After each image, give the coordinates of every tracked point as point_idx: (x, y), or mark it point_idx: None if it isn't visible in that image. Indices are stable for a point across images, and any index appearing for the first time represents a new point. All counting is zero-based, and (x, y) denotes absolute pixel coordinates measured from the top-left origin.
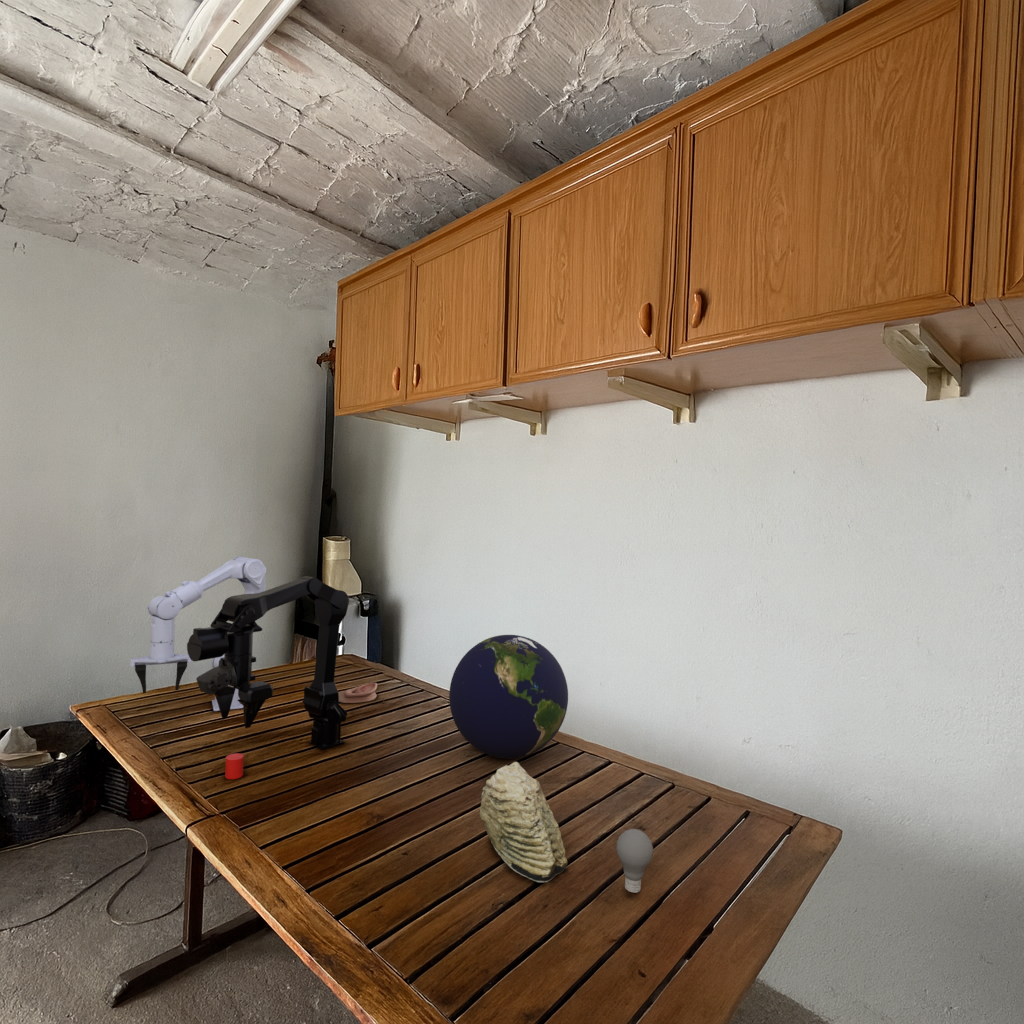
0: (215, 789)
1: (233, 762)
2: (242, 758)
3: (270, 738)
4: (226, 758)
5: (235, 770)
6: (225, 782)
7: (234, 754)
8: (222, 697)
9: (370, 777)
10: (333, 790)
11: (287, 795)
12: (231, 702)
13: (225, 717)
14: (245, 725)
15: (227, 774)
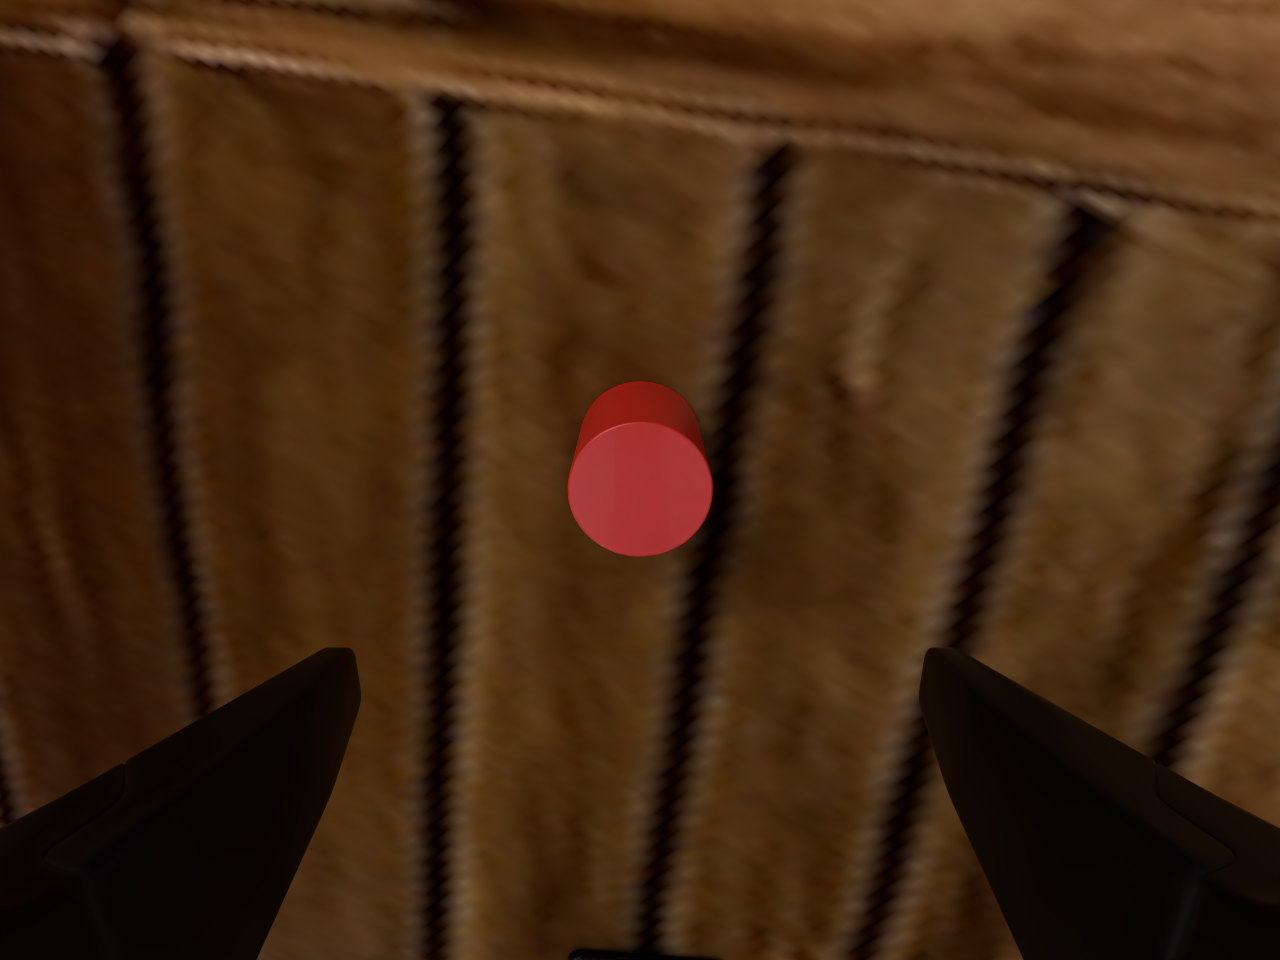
0: (529, 231)
1: (584, 442)
2: (577, 519)
3: (977, 874)
4: (654, 425)
5: (580, 435)
6: (585, 343)
7: (681, 512)
8: (1147, 919)
9: None
10: (16, 703)
11: (113, 502)
12: (1012, 926)
13: (922, 680)
14: (306, 662)
15: (627, 389)
